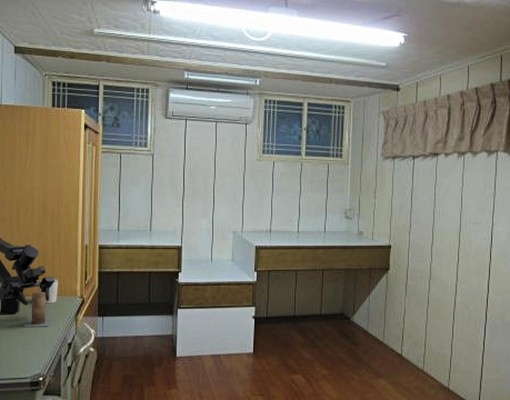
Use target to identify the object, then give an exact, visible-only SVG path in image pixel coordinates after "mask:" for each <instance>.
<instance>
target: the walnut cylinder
mask: <svg viewBox="0 0 510 400" xmlns="http://www.w3.org/2000/svg"><path fill="white" fill-rule="evenodd" d="M45 302H46V293H45V292H40V291H37V292H33V293H31V319H32V324H42V323H45V319H46V303H45Z"/></svg>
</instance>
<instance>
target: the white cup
mask: <svg viewBox="0 0 510 400" xmlns="http://www.w3.org/2000/svg"><path fill="white" fill-rule="evenodd" d="M54 280H55V281H54V283H53V284H52V286H51V287H50V288H49V301H47V300H46V302H45V304H52V303H55V302H57V297H58V296H57V295H58V289H59V287H58V285H59V280H58V279H55V278H54ZM39 290H40V291H39V292H41V290H42V289H40V288H39Z"/></svg>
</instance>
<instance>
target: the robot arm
mask: <svg viewBox="0 0 510 400" xmlns="http://www.w3.org/2000/svg"><path fill="white" fill-rule="evenodd" d="M0 253H2V254H3V255H4V257H5V259H6V260H7V261H9V262H14V263H13V264H12V267H11V270H12V271H13V270H14V271H15V273H16V275H15V276H12V275H11V273H10V272H9V270H8V269H7V267H6V266H5V264H4V263H3V261H2V260H1V259H0V315H15V314H17V313H18V312H19V311H20V308H21V305H20V303H22V304H23V305H24V306H27V305H28V300H27V299H26V297H25V294H24V290H26V289H32V288H36V287H37V288H38V287H39V290H40V289H42V290H41V292H45V293H46V300H47V301H49V288H50V287H51V286H52V284H53V283H54V281H55V280H56V279H55V278H54V276H46V277H43V278H41V280H40V281H38V280H39V279H40V277H41V276H43V275H44V274H46V269H45V267H44V266H43V265H41V266H38V267H35V268H32V267H31V266H32V264H34V262H35V260H36V259H37V257H38V256H39V250H38V249H37V248H35V247H34V246H32V245H31V244H25V246H22V245H13V244H11V243H9V242H7V241H6V240H3V239H2V238H1V237H0ZM54 279H55V280H54Z"/></svg>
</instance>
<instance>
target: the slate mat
mask: <svg viewBox="0 0 510 400" xmlns="http://www.w3.org/2000/svg"><path fill="white" fill-rule="evenodd" d="M53 321H54V319H53V318H45V323H42V324H32V318H31V319H28V320H27V322H26V323H25V324H24V325H23V328H47V327H49V326H50V324H51V323H52V322H53Z"/></svg>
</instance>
